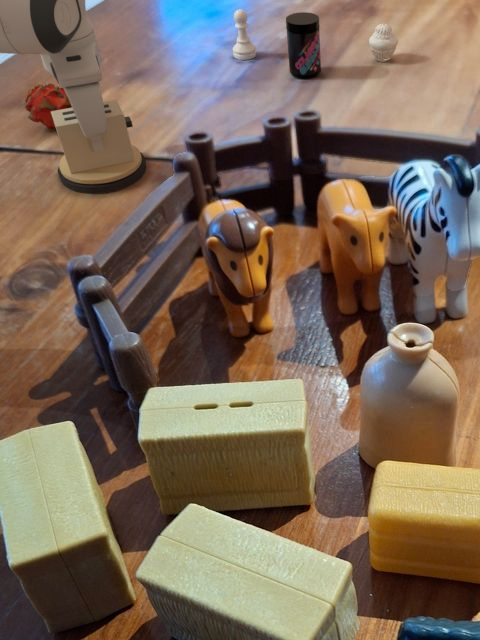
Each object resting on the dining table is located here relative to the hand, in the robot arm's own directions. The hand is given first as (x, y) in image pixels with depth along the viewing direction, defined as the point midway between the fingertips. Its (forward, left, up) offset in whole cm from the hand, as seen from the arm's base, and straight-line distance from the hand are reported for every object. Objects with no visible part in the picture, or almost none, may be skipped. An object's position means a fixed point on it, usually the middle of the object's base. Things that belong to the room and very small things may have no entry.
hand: (94, 139), depth 123 cm
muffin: (+65, +24, -6) cm, 70 cm away
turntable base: (0, 0, -6) cm, 6 cm away
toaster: (0, 0, -4) cm, 4 cm away
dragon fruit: (-4, +20, -6) cm, 21 cm away
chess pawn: (+38, +38, -6) cm, 54 cm away
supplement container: (+47, +24, -6) cm, 53 cm away
